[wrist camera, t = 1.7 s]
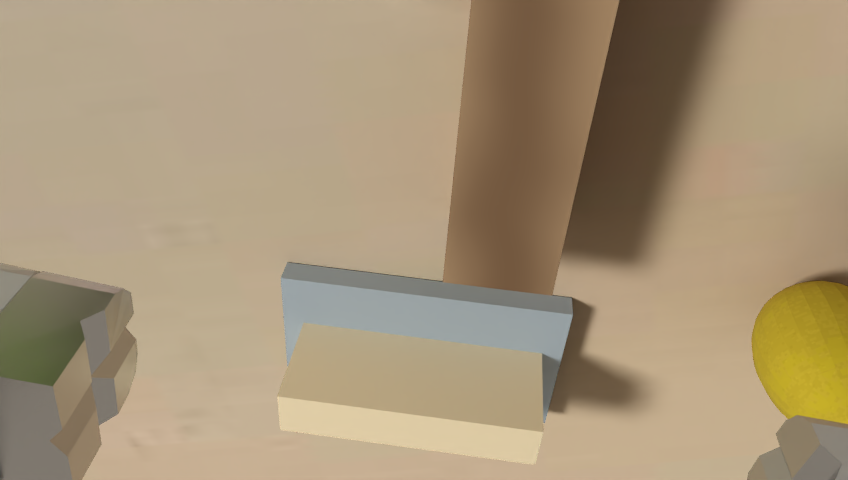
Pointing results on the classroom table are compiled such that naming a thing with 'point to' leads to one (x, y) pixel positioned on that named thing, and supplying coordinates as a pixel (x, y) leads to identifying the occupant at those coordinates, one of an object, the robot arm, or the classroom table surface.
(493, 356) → the fulcrum
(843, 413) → the lemon
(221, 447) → the classroom table surface
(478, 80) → the walnut bar
